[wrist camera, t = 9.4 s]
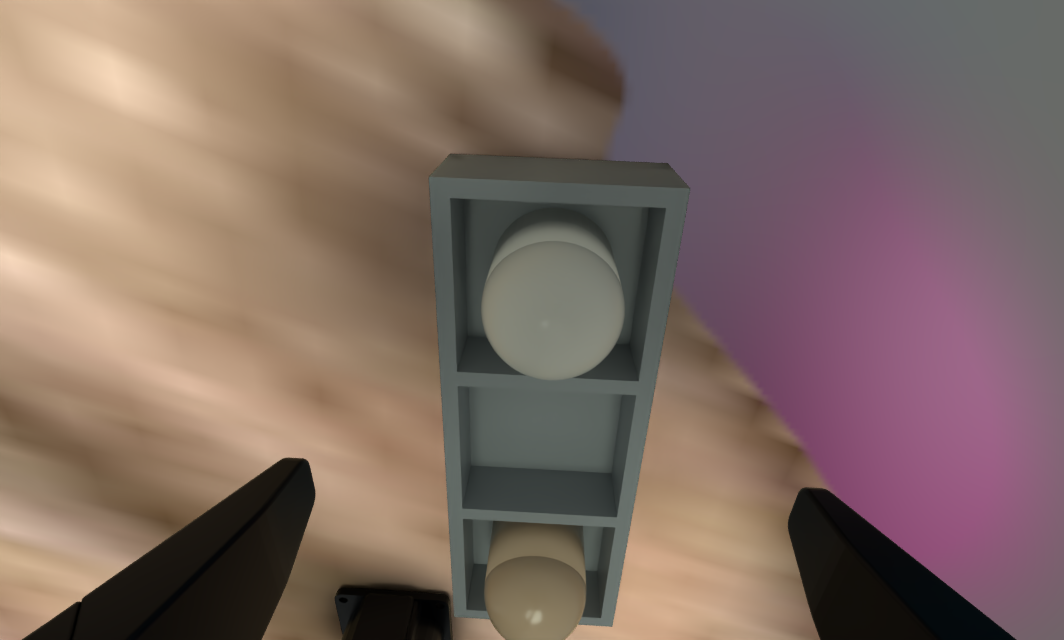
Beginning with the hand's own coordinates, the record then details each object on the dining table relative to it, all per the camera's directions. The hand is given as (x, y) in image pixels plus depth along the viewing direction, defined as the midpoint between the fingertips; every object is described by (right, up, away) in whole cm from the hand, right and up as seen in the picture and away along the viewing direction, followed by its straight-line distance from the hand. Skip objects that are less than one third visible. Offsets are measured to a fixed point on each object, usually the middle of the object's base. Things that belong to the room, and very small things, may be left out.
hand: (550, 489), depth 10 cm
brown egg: (0, -7, +16) cm, 17 cm away
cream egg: (0, +5, +10) cm, 11 cm away
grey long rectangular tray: (0, 0, +14) cm, 14 cm away
